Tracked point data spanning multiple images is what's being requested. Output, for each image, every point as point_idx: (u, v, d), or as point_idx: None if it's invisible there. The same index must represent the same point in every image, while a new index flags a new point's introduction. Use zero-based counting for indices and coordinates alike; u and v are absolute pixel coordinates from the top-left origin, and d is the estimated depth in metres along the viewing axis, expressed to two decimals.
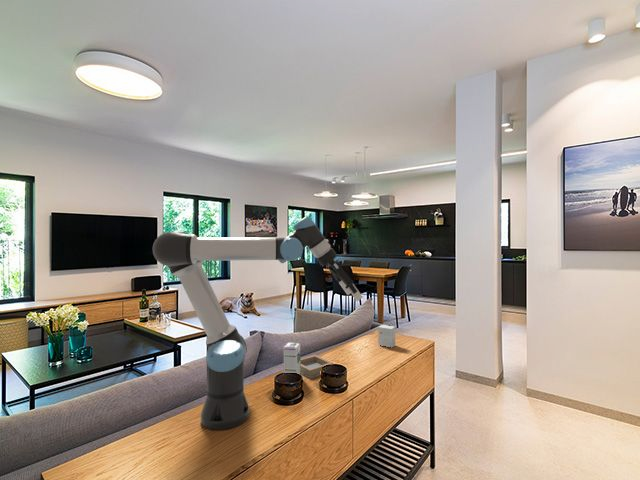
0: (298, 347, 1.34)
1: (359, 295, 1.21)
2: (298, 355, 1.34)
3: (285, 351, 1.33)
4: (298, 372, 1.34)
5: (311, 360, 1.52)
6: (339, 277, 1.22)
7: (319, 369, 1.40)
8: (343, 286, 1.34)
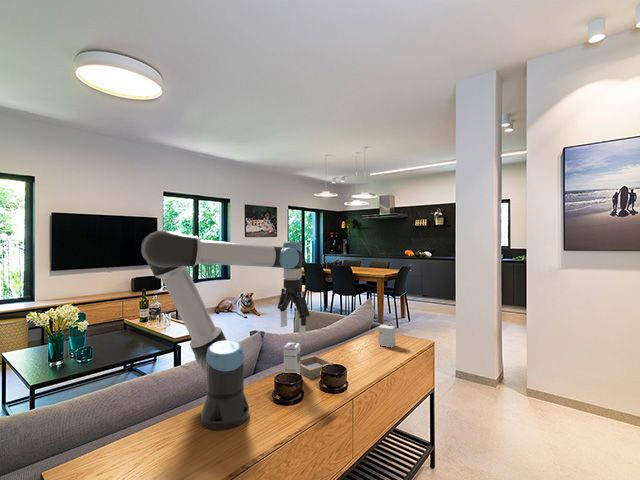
0: (298, 347, 1.34)
1: (304, 329, 1.30)
2: (298, 355, 1.34)
3: (285, 351, 1.33)
4: (298, 372, 1.34)
5: (311, 360, 1.52)
6: (296, 305, 1.30)
7: (319, 369, 1.40)
8: (283, 317, 1.39)
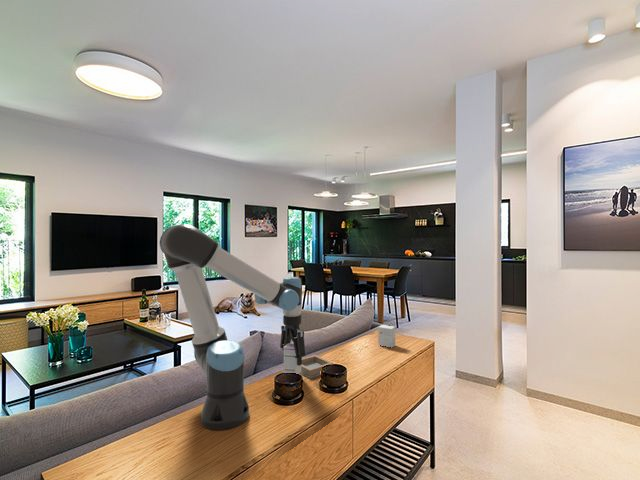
0: None
1: (299, 369, 1.32)
2: None
3: (285, 351, 1.33)
4: None
5: (311, 360, 1.52)
6: (294, 344, 1.32)
7: (319, 369, 1.40)
8: None
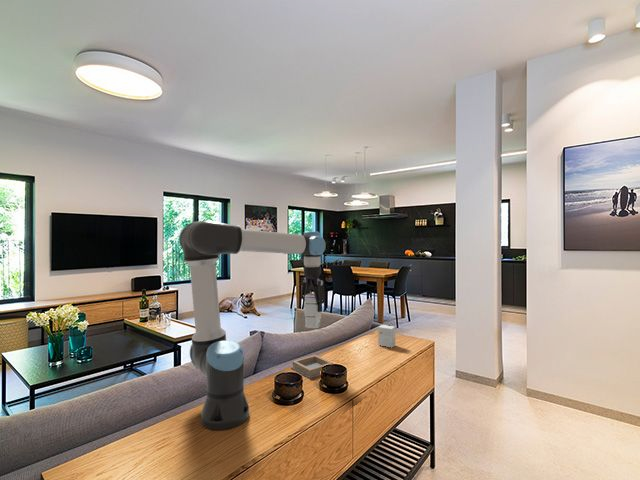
0: None
1: (320, 315, 1.42)
2: None
3: (306, 299, 1.43)
4: (318, 319, 1.44)
5: (311, 360, 1.52)
6: (314, 292, 1.42)
7: (319, 369, 1.40)
8: None
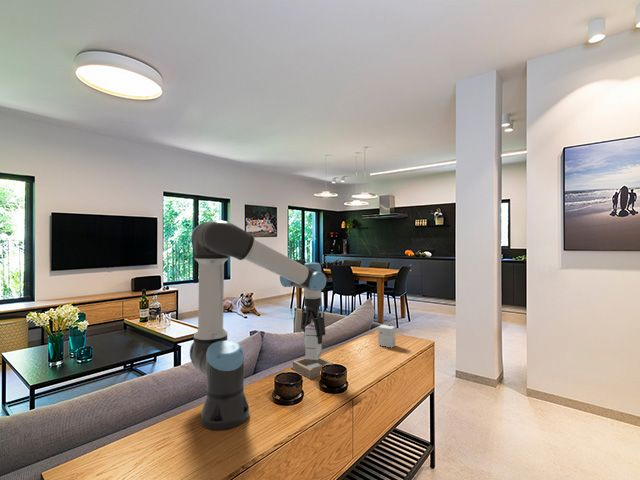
0: None
1: (320, 347, 1.42)
2: None
3: (307, 331, 1.43)
4: None
5: (311, 360, 1.52)
6: (315, 324, 1.42)
7: (319, 369, 1.40)
8: None
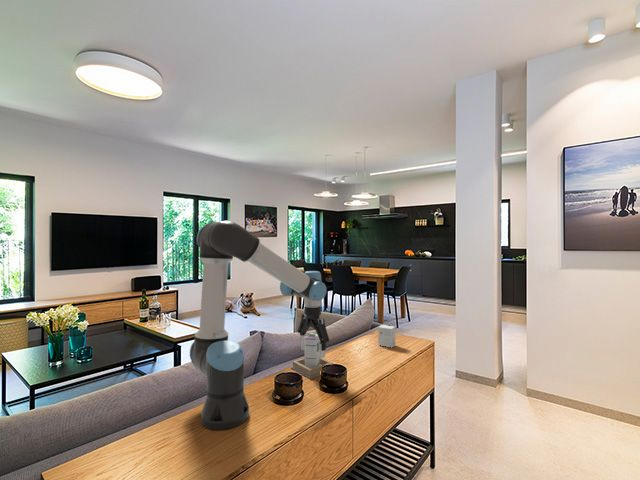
0: (317, 337, 1.45)
1: (323, 354, 1.40)
2: (317, 344, 1.45)
3: (306, 341, 1.43)
4: (318, 360, 1.44)
5: None
6: (317, 331, 1.41)
7: (319, 369, 1.40)
8: (303, 340, 1.50)
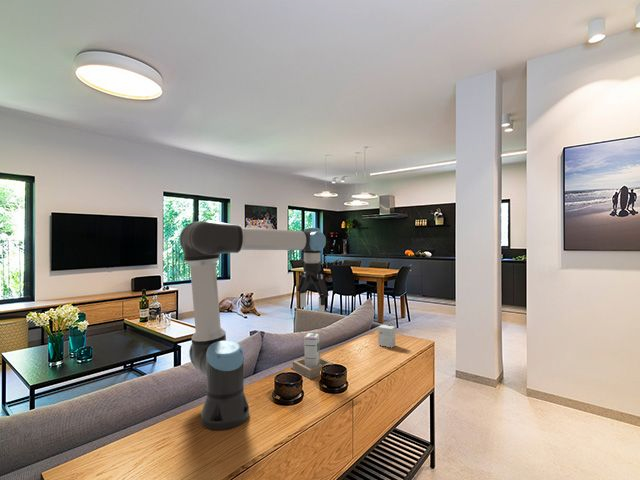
0: (317, 337, 1.45)
1: (323, 309, 1.40)
2: (318, 344, 1.45)
3: (306, 341, 1.43)
4: (318, 360, 1.44)
5: None
6: (316, 287, 1.41)
7: (319, 369, 1.40)
8: (302, 298, 1.50)
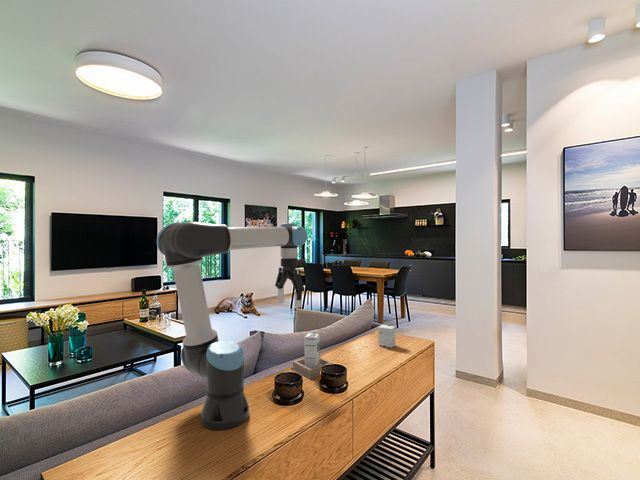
0: (317, 337, 1.45)
1: (299, 304, 1.41)
2: (318, 344, 1.45)
3: (306, 341, 1.43)
4: (318, 360, 1.44)
5: None
6: (292, 282, 1.41)
7: (319, 369, 1.40)
8: (280, 294, 1.50)
